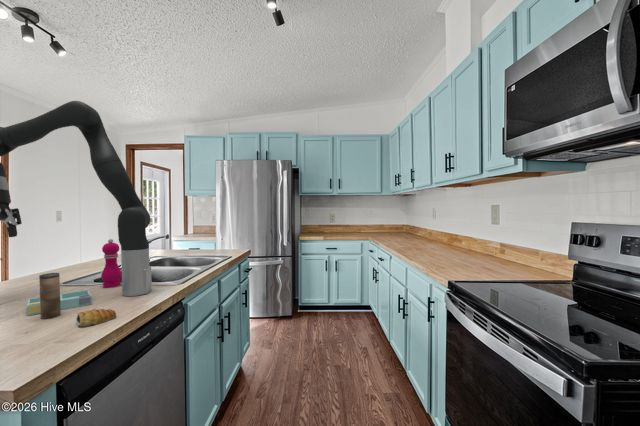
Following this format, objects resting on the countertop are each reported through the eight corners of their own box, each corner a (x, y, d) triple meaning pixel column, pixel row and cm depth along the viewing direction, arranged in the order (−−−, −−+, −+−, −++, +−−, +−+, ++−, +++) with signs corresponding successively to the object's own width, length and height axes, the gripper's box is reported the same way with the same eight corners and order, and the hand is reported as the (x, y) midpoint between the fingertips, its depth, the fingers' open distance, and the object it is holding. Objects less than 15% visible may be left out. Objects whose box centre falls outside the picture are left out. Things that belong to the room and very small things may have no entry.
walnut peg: (64, 312, 96) (62, 272, 96) (55, 318, 91) (53, 275, 91) (46, 314, 95) (45, 273, 94) (37, 319, 90) (35, 276, 90)
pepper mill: (99, 289, 123) (98, 240, 123) (103, 285, 130) (101, 238, 129) (121, 286, 127) (119, 239, 126) (123, 282, 133) (121, 237, 133)
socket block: (88, 297, 112) (88, 288, 112) (91, 304, 104) (91, 294, 104) (28, 308, 101) (28, 298, 101) (26, 316, 93) (26, 305, 93)
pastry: (112, 314, 95) (112, 302, 95) (119, 320, 90) (119, 307, 90) (74, 323, 88) (74, 310, 88) (80, 330, 83) (79, 316, 83)
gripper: (-17, 185, 97) (-9, 234, 96) (23, 191, 111) (31, 234, 111) (-42, 190, 97) (-34, 239, 96) (2, 195, 111) (9, 239, 110)
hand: (1, 236), depth 103 cm, fingers open, 8 cm apart
